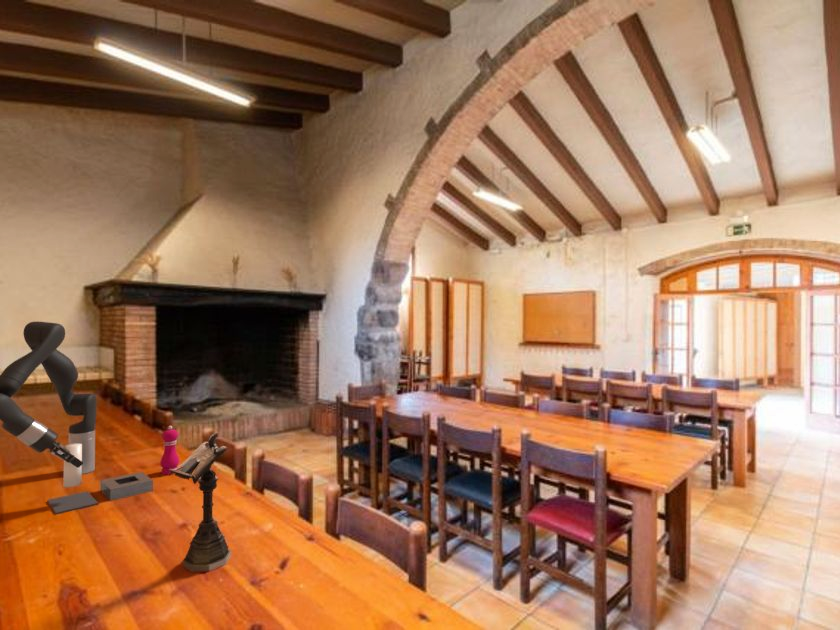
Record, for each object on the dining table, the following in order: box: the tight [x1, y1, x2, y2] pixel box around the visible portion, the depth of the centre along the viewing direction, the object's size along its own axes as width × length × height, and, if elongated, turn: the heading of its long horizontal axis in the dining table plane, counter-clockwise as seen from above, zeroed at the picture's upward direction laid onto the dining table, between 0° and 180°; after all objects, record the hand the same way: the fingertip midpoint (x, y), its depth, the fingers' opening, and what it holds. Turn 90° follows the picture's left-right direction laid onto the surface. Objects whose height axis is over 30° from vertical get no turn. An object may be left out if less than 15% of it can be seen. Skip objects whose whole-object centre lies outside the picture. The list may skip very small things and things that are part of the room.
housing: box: [100, 471, 154, 501], centre depth 182 cm, size 14×14×4 cm
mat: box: [47, 490, 99, 515], centre depth 170 cm, size 16×12×1 cm
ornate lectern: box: [168, 432, 232, 573], centre depth 128 cm, size 17×13×35 cm
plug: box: [62, 443, 83, 488], centre depth 170 cm, size 5×5×14 cm
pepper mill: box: [160, 425, 180, 476], centre depth 204 cm, size 7×7×20 cm
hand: (78, 463), depth 171 cm, fingers closed on plug, 5 cm apart
